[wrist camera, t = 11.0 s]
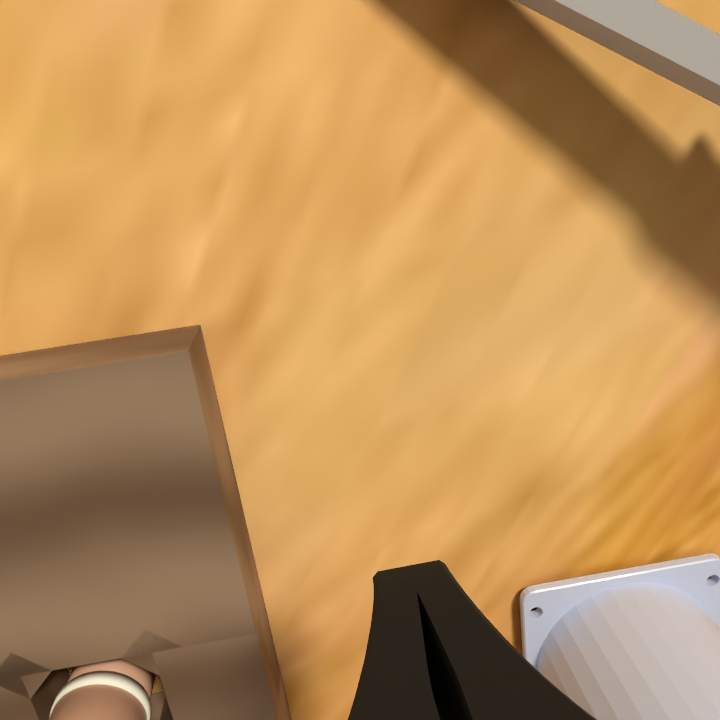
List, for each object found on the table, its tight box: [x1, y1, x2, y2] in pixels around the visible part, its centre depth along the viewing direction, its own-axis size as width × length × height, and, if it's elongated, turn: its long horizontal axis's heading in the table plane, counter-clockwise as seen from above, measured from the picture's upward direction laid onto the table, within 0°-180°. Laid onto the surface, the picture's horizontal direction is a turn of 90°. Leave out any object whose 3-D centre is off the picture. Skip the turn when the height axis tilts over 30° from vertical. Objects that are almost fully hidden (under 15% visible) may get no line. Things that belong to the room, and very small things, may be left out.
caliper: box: [514, 0, 720, 106], centre depth 16 cm, size 20×1×6 cm, turn 65°
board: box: [0, 325, 291, 720], centre depth 21 cm, size 18×11×2 cm, turn 8°
